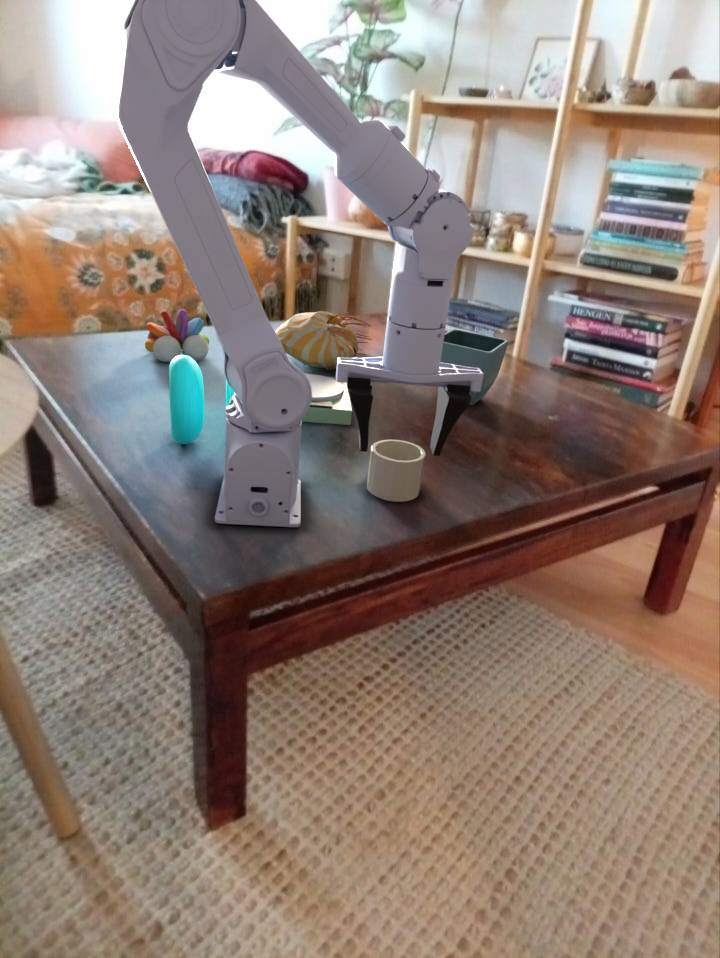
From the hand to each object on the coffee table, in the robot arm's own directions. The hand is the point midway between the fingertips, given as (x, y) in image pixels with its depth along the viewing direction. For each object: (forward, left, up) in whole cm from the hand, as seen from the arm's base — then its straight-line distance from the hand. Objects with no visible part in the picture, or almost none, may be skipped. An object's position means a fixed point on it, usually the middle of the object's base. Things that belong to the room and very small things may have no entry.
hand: (399, 449), depth 74 cm
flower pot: (+31, -14, -5) cm, 34 cm away
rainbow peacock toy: (+41, +29, -5) cm, 51 cm away
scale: (+24, +9, -5) cm, 26 cm away
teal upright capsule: (+10, +20, -5) cm, 23 cm away
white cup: (0, 0, -5) cm, 5 cm away
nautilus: (+44, +5, -5) cm, 45 cm away
